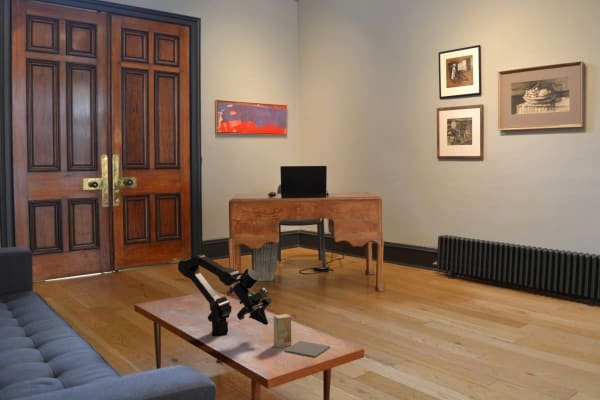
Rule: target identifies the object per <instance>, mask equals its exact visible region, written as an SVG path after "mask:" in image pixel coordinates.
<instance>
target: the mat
mask: <svg viewBox="0 0 600 400" xmlns="http://www.w3.org/2000/svg"><path fill="white" fill-rule="evenodd" d="M330 348H331V346H330V345H324V344H320V343H313V342H310V341H303V340H299V341H298V342H296V343H294V344H291V346H288V348H285V349H284V352H285V353H286V352H287V353H291V354H295V355H301V356H306V357H311V358H317V357H318V356H320V355H321V354H323V353H324V352H326V351H327V350H329V349H330Z"/></svg>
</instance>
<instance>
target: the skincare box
mask: <svg viewBox="0 0 600 400" xmlns="http://www.w3.org/2000/svg"><path fill="white" fill-rule="evenodd" d="M273 345H274V346H275V347H276V348H279V349H280V348H283V347H291V346H292V316H291V315H290V314H288V313H285V314H279V315H273Z"/></svg>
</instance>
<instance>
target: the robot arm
mask: <svg viewBox="0 0 600 400" xmlns="http://www.w3.org/2000/svg"><path fill="white" fill-rule="evenodd" d="M200 267H201V268H203V269H204V270H207V271H208V272H210V273H211V274H213V275H215V276H216V277H218V280H219V281H220V282H221V283H222V284H223V285H225V286H226V287H229V286H231V287H229V295H232V294H234V295H235V296H236V297H237V298H238V299H239V302H238V303H239V304H240V305H243V307H242V308H241V309H240V310H239V311H238V312H237V315H236V317H237V318H238V320H239V321H242V320H244V319H245V316H246V315H248V314H249V316H248V318H249V319H252V320H255V321H257V322H259V323H261V324H263V325H264V326H267V325H269V321H268V318H267V315H266V311H265V310H267V308H268V307H269V306H270V305H271V304H272V302H273V300H272V298H271V297H269V296H268V295H269V291H268V290H267V289H266V288H265V287H262V288H260V289H259V291H258V292H255V291H251V290H250V289H252V288H253V287H254V286H255V285H256V284H257V282H259V280H260V274H259V273H258V272H257V271H255V269H254V270H253V269H251V268H250V267H248V268H246V269H245V270H244V272H243V273H241V272H239V271H238V270H237V269H234V268H230V267H226V266H223V265H221V264H219V263H218V262H216V261H215V260H212V259H211V258H209V257H208V256H206V255H205V254H198V255H195V256H194V257H192V258H191V257H190V258H187V259H182V260H180V261H179V262H178V264H177V270H178V271H179V273H180V274H182V276H183V277H184V278H187V279H188V280H190V281H192V283H193V284H194V285H195V287H196V288H197V290H199V292H200V293H201V294H202V296H203V297H204V298H205V300H206V301H207V302H208V304H209V310H210V313H209V314H208V316H207V320H208V322H211V336H213V337H215V336H225V335H226V336H227V335H228V332H229V323H228V320H227V319H229V318H230V315H231V313H232V307H233V306H232V305H231V302H230V301H229V299H228V298H227V297H226V296H219V295H218V294H217V293H216V291H215V290H214V289H213V287H212V286H211V285H210V284H209V282H208V280H206V279H205V277H204V276H203V275H202V273H201V272H200Z"/></svg>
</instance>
